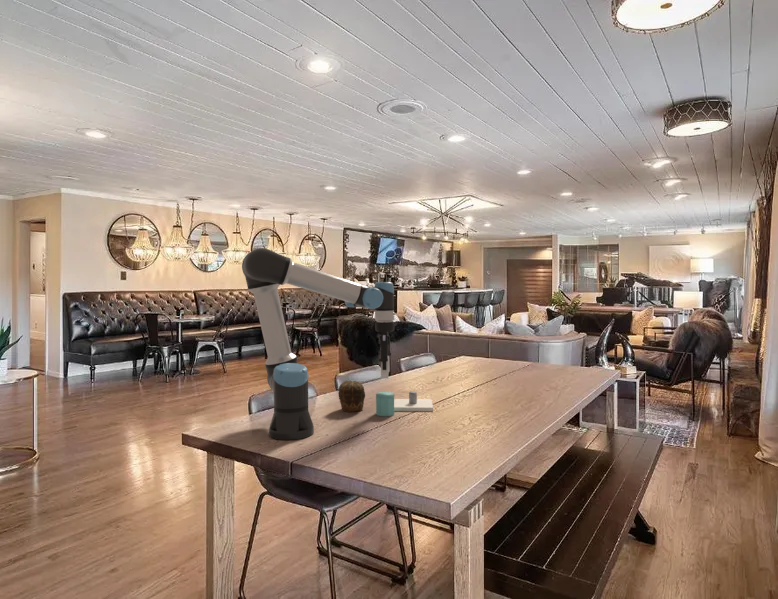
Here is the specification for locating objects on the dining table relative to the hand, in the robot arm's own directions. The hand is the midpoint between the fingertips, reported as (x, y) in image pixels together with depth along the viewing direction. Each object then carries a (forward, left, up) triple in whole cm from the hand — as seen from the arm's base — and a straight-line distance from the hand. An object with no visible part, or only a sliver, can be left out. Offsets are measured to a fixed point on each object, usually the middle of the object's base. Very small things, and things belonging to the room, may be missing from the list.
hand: (385, 375), depth 199 cm
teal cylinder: (0, 0, -15) cm, 15 cm away
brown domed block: (+6, +14, -16) cm, 22 cm away
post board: (+12, -11, -15) cm, 22 cm away
